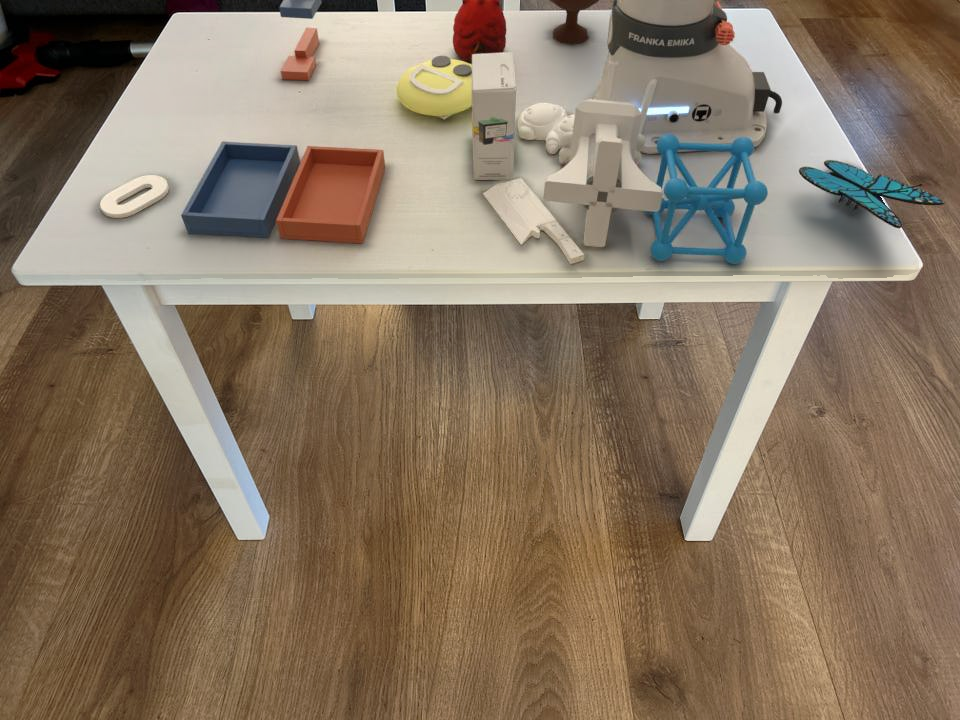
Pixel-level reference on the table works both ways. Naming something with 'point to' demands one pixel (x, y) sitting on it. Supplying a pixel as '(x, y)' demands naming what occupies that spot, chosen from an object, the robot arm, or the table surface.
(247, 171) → the blue tray
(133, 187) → the chain link
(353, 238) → the terracotta tray
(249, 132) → the table surface
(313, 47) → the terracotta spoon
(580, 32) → the ice cream bowl
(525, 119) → the astronaut figurine
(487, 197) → the cleaver
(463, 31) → the red clay folk toy
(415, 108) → the emoji
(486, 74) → the ink box
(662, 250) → the molecular structure
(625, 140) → the toy gun turret
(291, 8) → the paddle
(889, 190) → the butterfly
